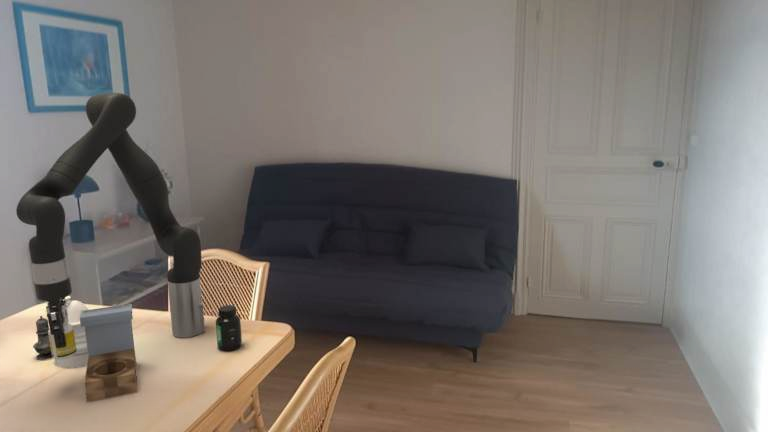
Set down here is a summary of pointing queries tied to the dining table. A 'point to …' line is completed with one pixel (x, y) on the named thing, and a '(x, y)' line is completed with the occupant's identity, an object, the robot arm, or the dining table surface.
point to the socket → (110, 375)
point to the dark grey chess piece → (42, 340)
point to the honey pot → (76, 336)
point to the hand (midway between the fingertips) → (62, 341)
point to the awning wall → (108, 329)
